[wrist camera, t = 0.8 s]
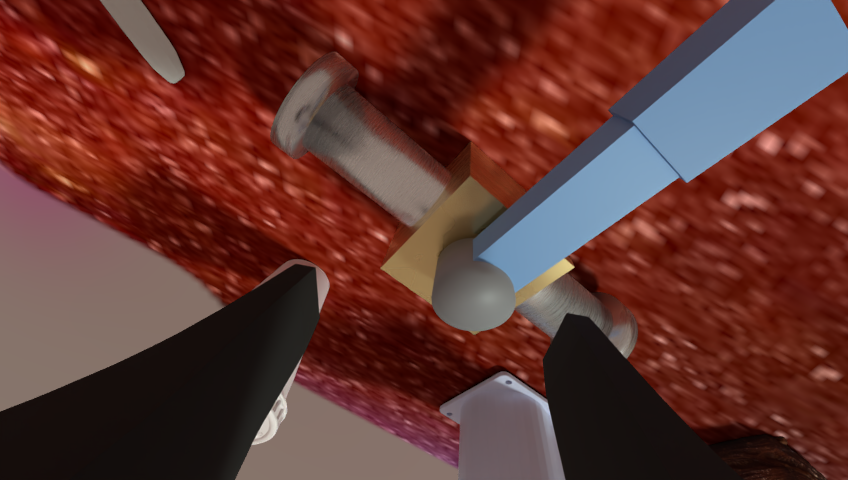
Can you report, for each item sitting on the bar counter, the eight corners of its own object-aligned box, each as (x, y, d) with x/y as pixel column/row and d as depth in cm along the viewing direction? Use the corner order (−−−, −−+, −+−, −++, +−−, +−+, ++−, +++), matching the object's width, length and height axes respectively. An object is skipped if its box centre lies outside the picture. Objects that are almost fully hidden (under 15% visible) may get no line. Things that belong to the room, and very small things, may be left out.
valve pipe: (626, 282, 19) (670, 351, 15) (546, 329, 22) (564, 399, 18) (359, 39, 15) (310, 36, 10) (301, 139, 17) (243, 170, 13)
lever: (473, 307, 15) (473, 342, 13) (422, 269, 14) (415, 300, 12) (802, 65, 9) (885, 69, 7) (742, -26, 8) (819, -47, 6)
